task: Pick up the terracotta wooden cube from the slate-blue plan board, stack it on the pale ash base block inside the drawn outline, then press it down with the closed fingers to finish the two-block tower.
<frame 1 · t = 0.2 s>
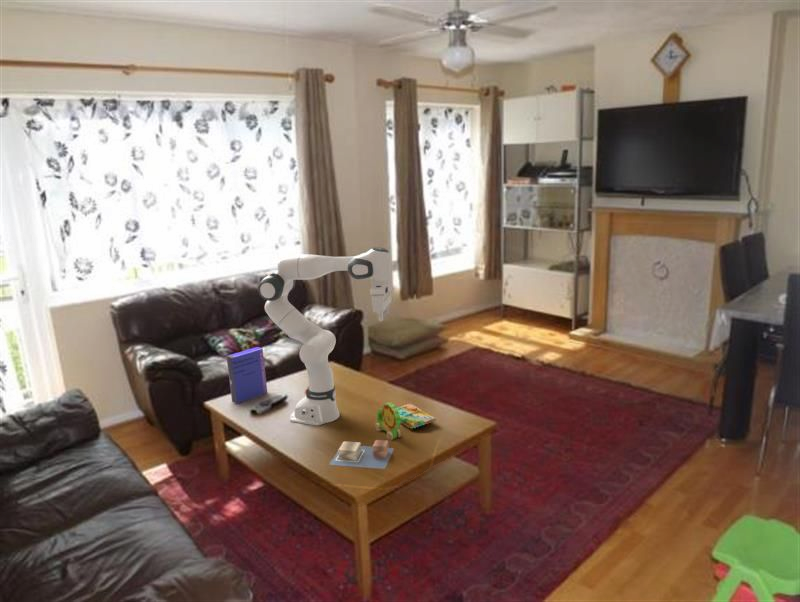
hand: (383, 317, 243), 48 cm above the table, tool pointing down, fingers open, 8 cm apart
plan board: (362, 458, 223), on the table
terracotta cube: (381, 454, 224), point 1 cm above the table, touching plan board
ash base block: (350, 455, 224), resting on plan board
puzzle game: (411, 422, 253), on the table
toy lion: (389, 435, 241), on the table
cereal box: (250, 397, 288), on the table
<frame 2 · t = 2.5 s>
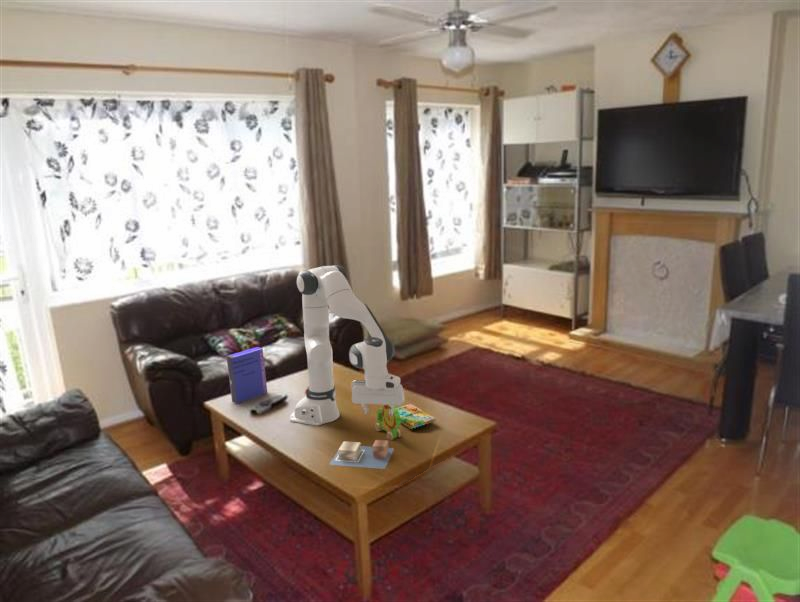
hand: (379, 414, 219), 18 cm above the table, tool pointing down, fingers open, 8 cm apart
nothing on the table moved.
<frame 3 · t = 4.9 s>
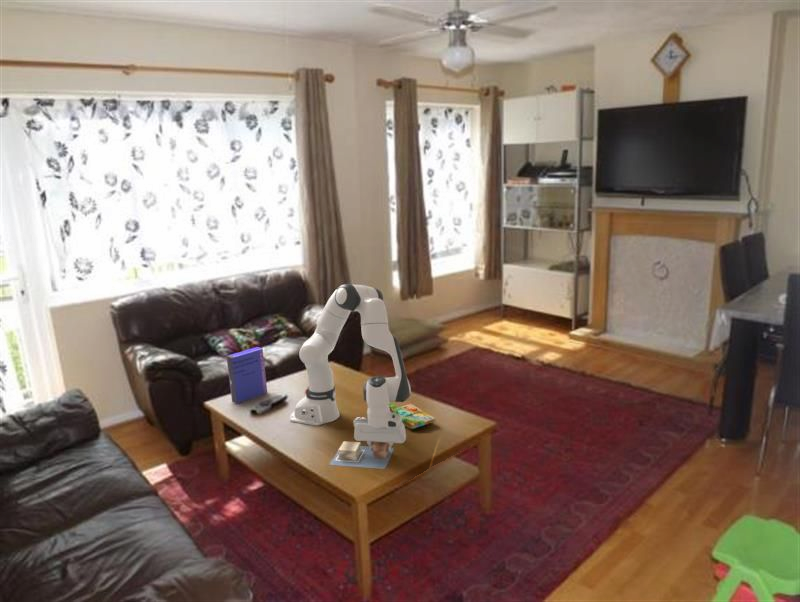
hand: (380, 451, 223), 2 cm above the table, tool pointing down, fingers closed on terracotta cube, 5 cm apart
terracotta cube: (381, 454, 224), point 1 cm above the table, touching gripper, plan board
everything else where it was.
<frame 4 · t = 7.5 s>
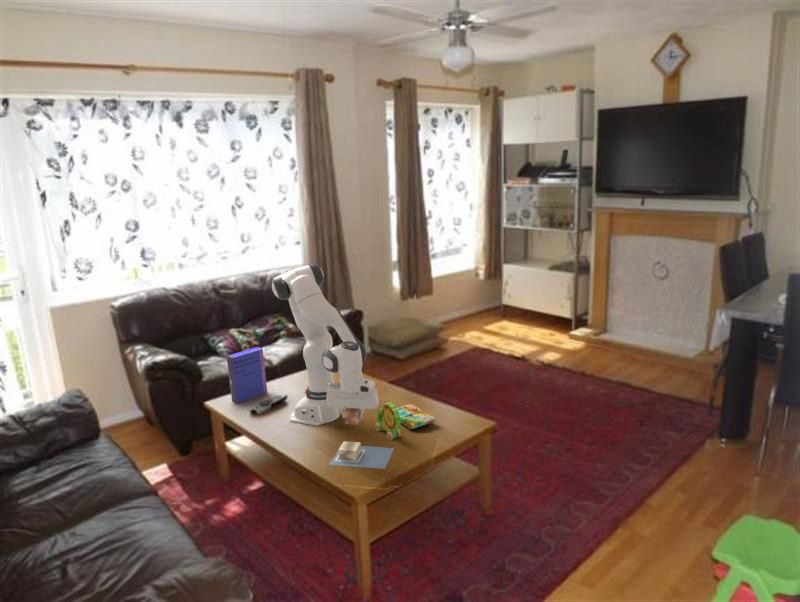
hand: (353, 417, 221), 17 cm above the table, tool pointing down, fingers closed on terracotta cube, 5 cm apart
terracotta cube: (353, 421, 221), point 15 cm above the table, touching gripper
everything else where it was.
when the fingers open (7 cm above the table, at t = 10.0 s): terracotta cube drops 1 cm, resting on ash base block.
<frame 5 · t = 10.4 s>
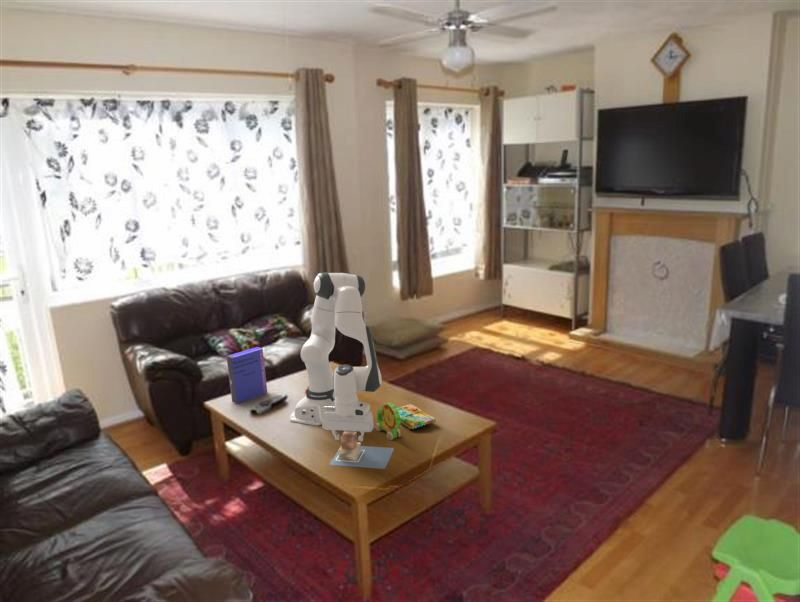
hand: (349, 440, 223), 7 cm above the table, tool pointing down, fingers open, 8 cm apart
terracotta cube: (349, 446, 223), point 5 cm above the table, touching ash base block
everything else where it was.
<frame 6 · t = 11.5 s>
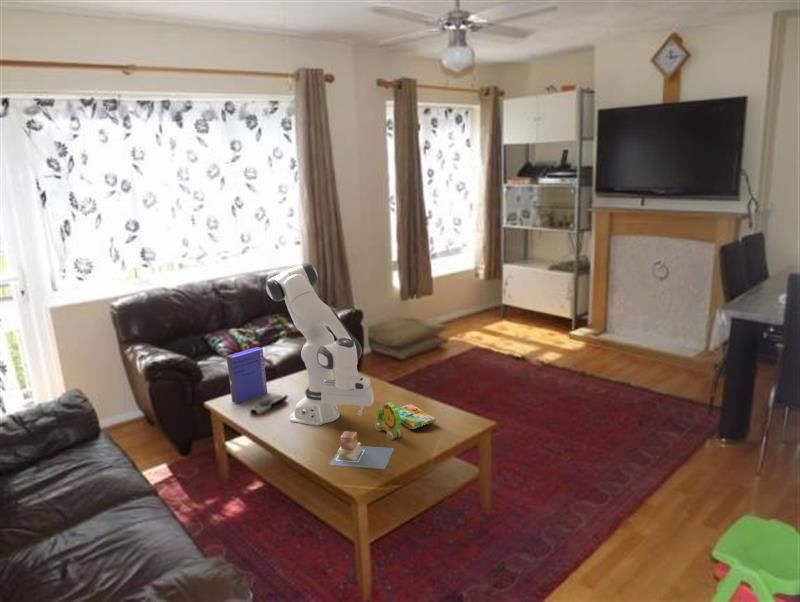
hand: (348, 414, 220), 18 cm above the table, tool pointing down, fingers open, 8 cm apart
nothing on the table moved.
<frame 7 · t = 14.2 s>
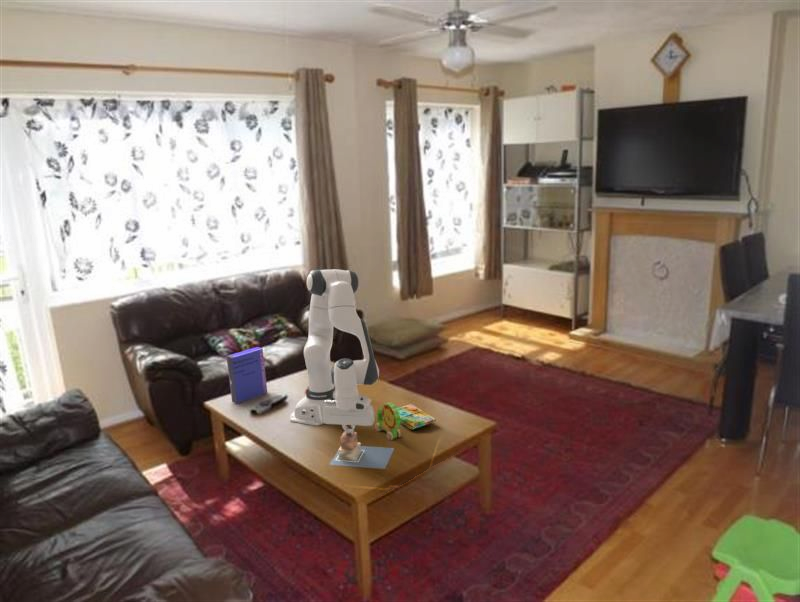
hand: (349, 434, 222), 10 cm above the table, tool pointing down, fingers closed, pressing on terracotta cube
terracotta cube: (349, 446, 223), point 5 cm above the table, touching ash base block, gripper
everything else where it was.
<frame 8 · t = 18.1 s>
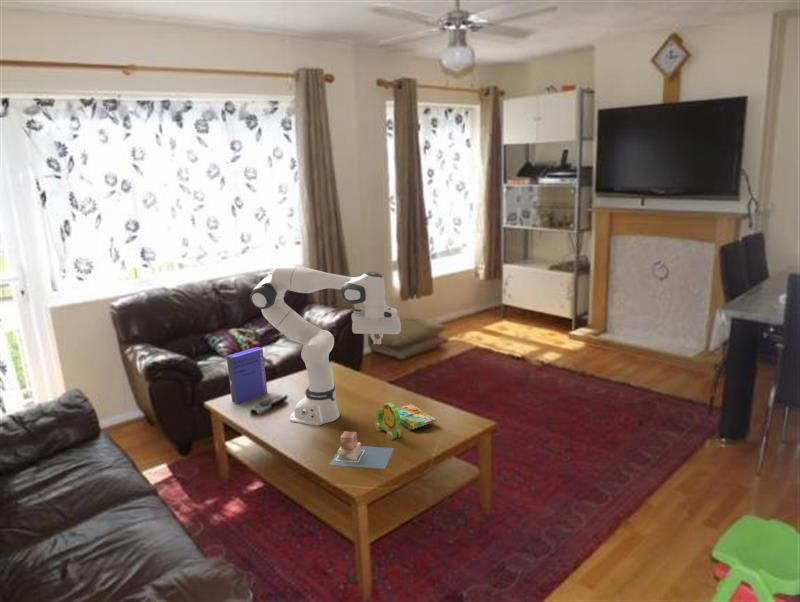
hand: (377, 343, 236), 39 cm above the table, tool pointing down, fingers closed
terracotta cube: (349, 446, 223), point 5 cm above the table, touching ash base block
everything else where it was.
at the end: terracotta cube 0.2 cm off-centre on the ash base block, point 4.0 cm above the ash base block's base; terracotta cube tilted 0°; the gripper is holding nothing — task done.
